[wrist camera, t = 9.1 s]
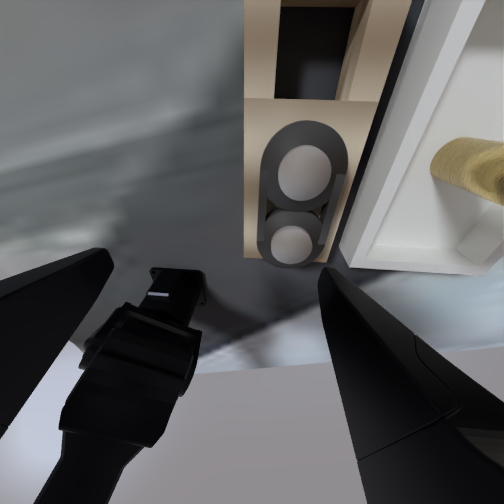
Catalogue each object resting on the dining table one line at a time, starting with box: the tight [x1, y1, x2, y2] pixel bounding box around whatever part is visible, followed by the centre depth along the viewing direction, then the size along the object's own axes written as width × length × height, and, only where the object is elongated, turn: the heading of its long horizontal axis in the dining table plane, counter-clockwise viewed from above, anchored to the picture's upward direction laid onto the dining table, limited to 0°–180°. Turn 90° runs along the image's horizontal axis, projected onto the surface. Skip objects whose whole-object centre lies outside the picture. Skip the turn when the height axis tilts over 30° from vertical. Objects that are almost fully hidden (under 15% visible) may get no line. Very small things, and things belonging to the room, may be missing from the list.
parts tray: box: [339, 0, 504, 276], centre depth 14 cm, size 18×12×4 cm, turn 179°
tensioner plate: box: [244, 0, 412, 269], centre depth 14 cm, size 18×8×5 cm, turn 179°
